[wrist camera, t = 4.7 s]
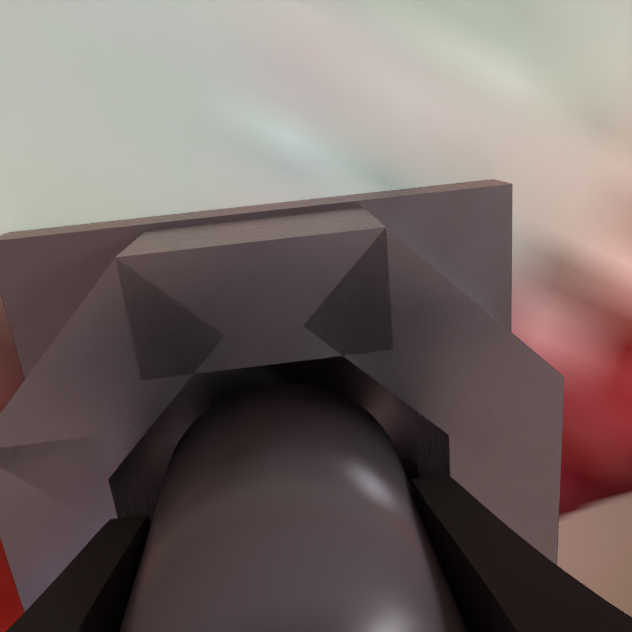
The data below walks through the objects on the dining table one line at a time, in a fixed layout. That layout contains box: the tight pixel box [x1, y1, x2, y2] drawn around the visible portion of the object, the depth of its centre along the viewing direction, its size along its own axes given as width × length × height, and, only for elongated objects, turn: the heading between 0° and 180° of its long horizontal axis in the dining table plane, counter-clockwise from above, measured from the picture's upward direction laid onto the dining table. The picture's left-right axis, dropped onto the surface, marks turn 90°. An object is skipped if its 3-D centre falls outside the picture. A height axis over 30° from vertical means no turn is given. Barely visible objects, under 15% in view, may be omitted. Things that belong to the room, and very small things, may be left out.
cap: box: [119, 383, 468, 632], centre depth 8 cm, size 4×4×5 cm
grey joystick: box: [0, 179, 564, 613], centre depth 12 cm, size 10×10×4 cm
